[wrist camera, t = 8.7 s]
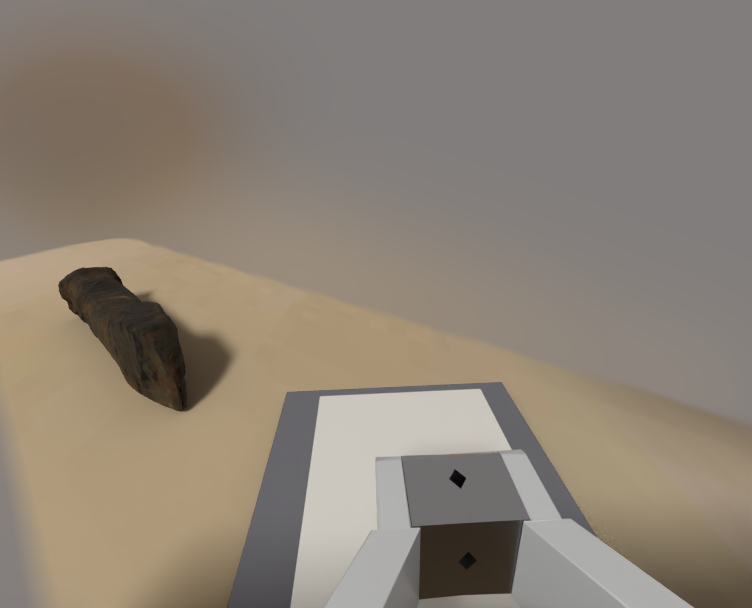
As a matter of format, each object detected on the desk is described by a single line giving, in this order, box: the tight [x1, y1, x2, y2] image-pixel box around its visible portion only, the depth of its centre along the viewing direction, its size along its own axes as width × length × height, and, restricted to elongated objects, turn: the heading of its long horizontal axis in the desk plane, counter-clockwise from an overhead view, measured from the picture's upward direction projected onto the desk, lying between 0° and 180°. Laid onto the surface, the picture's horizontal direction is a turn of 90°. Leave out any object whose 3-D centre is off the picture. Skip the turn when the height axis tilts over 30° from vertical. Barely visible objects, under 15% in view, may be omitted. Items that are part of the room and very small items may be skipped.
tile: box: [290, 389, 521, 608], centre depth 13 cm, size 7×2×10 cm
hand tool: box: [58, 267, 187, 411], centre depth 24 cm, size 19×4×5 cm, turn 42°
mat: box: [227, 382, 597, 608], centre depth 15 cm, size 11×11×1 cm
